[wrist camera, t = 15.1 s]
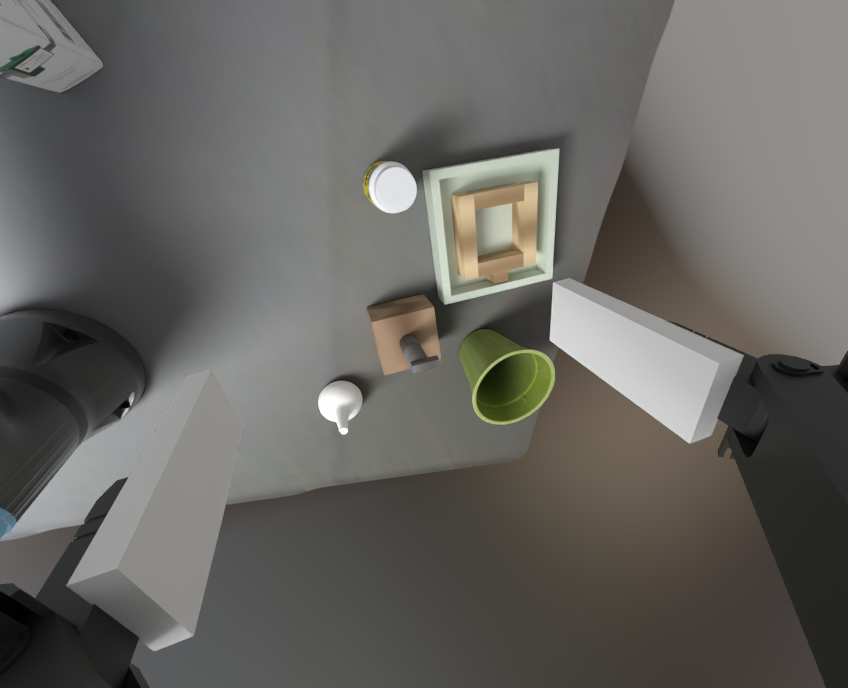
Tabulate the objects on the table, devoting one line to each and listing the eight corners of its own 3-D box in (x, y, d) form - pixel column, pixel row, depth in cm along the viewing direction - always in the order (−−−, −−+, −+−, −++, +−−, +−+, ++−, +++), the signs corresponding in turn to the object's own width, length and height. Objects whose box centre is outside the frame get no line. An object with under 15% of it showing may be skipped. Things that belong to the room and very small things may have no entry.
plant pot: (430, 368, 53) (456, 413, 43) (470, 302, 49) (507, 336, 40) (487, 388, 58) (521, 433, 48) (527, 331, 55) (571, 366, 45)
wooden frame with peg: (450, 194, 41) (459, 196, 38) (524, 180, 43) (538, 181, 40) (458, 283, 47) (466, 290, 44) (523, 268, 48) (535, 273, 46)
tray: (438, 297, 47) (444, 304, 45) (422, 170, 39) (429, 171, 37) (540, 272, 50) (552, 278, 48) (544, 149, 42) (559, 148, 40)
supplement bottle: (363, 157, 37) (374, 156, 30) (405, 165, 39) (424, 165, 32) (360, 203, 39) (369, 213, 32) (399, 209, 41) (417, 219, 34)
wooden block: (378, 357, 49) (393, 404, 40) (366, 307, 45) (379, 346, 36) (430, 343, 51) (457, 386, 41) (423, 293, 47) (451, 328, 37)
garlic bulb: (316, 379, 49) (309, 415, 42) (359, 374, 50) (360, 409, 43) (323, 413, 52) (318, 452, 45) (364, 408, 53) (365, 445, 46)
